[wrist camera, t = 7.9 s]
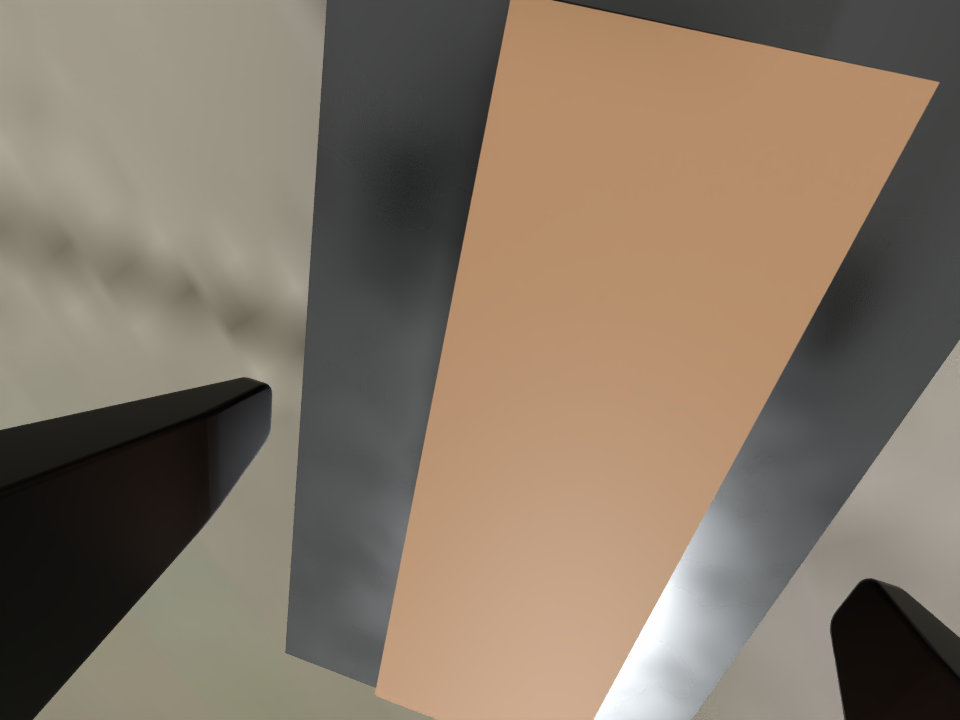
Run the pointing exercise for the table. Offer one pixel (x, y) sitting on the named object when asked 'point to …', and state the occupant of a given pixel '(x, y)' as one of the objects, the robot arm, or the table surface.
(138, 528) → the robot arm
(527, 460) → the tan wooden plank
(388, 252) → the gray slotted slab
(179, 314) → the table surface
